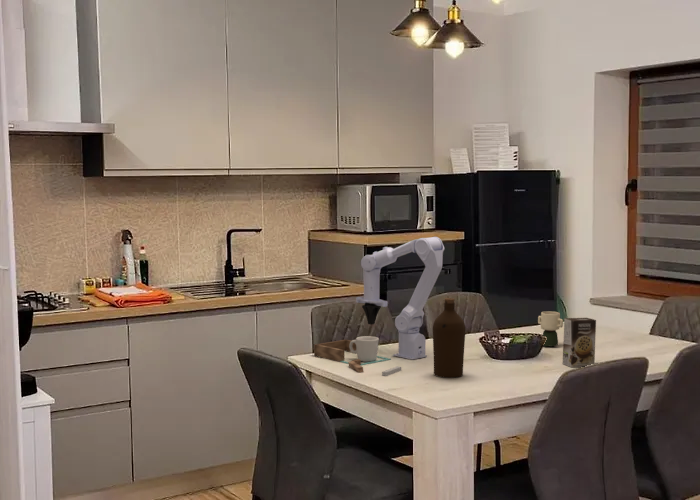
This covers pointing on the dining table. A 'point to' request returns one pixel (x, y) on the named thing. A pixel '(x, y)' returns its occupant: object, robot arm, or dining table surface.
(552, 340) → the beige and green trophy
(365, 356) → the cup
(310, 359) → the dining table surface
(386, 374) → the straight stick
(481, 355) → the dining table surface
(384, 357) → the bay
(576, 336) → the cookie box
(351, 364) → the crook stick
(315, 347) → the cubby
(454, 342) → the olive oil
